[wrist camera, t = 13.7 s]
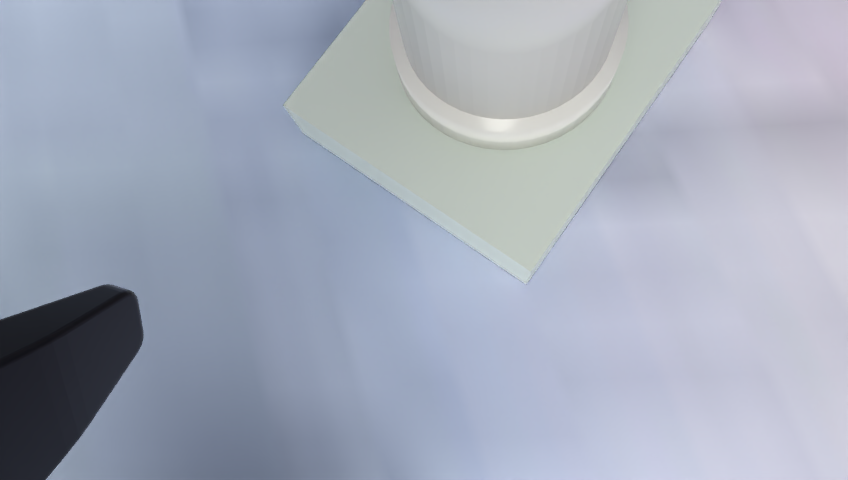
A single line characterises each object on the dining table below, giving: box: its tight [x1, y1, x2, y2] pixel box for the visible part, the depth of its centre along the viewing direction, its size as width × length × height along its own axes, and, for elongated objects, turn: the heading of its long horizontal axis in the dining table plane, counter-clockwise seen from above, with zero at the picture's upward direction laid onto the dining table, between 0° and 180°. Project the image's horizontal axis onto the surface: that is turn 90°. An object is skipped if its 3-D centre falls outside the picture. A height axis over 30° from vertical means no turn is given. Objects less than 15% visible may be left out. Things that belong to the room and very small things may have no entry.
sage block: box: [283, 0, 722, 284], centre depth 23 cm, size 12×10×2 cm
